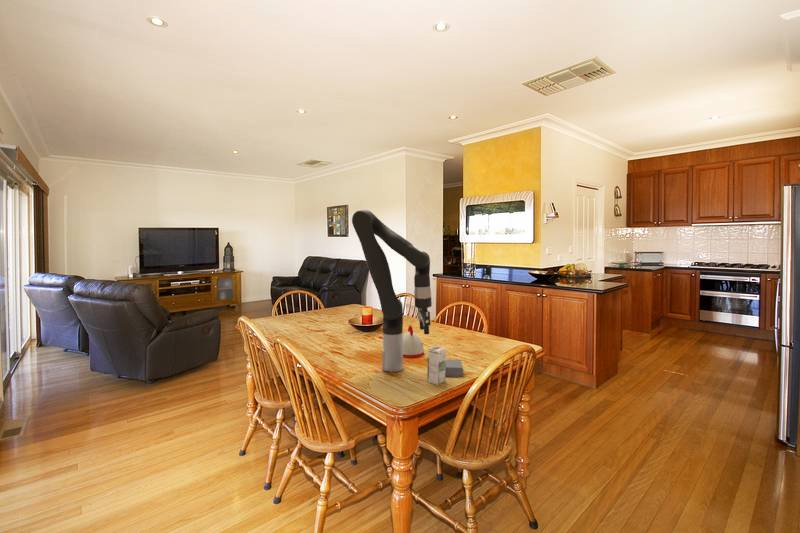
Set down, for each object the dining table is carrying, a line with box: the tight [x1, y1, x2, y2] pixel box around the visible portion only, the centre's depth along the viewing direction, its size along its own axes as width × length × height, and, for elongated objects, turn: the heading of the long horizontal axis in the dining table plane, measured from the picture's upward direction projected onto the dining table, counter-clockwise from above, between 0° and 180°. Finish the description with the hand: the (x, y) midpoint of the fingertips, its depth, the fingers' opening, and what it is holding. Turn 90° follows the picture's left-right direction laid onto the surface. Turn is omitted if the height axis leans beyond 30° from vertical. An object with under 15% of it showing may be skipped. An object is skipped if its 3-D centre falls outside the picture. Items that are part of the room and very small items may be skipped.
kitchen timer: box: [403, 325, 425, 359], centre depth 204 cm, size 14×14×15 cm
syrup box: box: [426, 345, 447, 386], centre depth 165 cm, size 6×6×14 cm
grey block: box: [446, 358, 464, 378], centre depth 177 cm, size 11×11×4 cm
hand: (424, 331), depth 176 cm, fingers open, 8 cm apart
